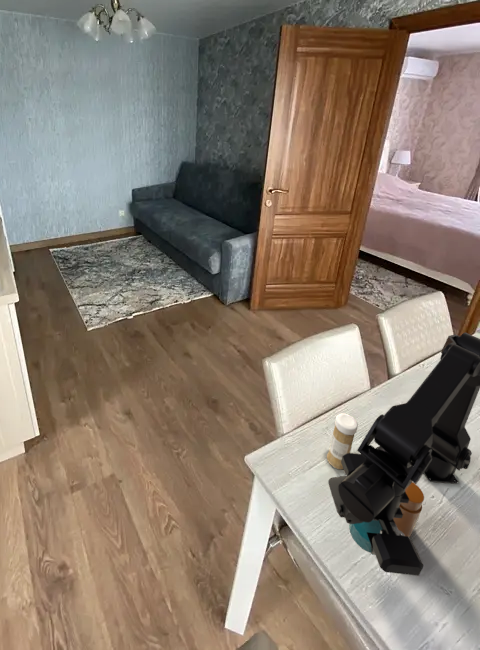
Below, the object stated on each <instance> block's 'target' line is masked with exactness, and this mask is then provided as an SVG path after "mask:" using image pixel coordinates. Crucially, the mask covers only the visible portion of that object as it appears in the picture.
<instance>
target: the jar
mask: <svg viewBox="0 0 480 650" xmlns="http://www.w3.org/2000/svg"><path fill="white" fill-rule="evenodd" d="M405 492H406V494H407V496H408V498H409V501H408V503H400V505H399V507H400V509H401V511H402V514H403V516H402V518H393V519H394V521H395V524H396V526H397V528H398V530H400V531H401V532H403V533H404V535H405V536H408V537H409V538H411V536H412V533H413V532H414V529H415V526H416V524H417V522H418V520H419V517H420V515H421V514H422V511H423V503H424V500H425V494H424V493H423V491H422V489H421V488H420V487H419V486H418V484H415V483H414V482H412V483H411V484H410V485H409V486H408V487H407V488H406V490H405Z"/></svg>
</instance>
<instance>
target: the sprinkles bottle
mask: <svg viewBox="0 0 480 650" xmlns="http://www.w3.org/2000/svg"><path fill="white" fill-rule="evenodd" d="M358 424H359V423H358V421H357V419H356V418H355V417H354V416H352V415H351V414H348V413H344V412H342V413H338V414H337V415H336V417H335V421H334V428H333V431H332V435H331V438H330V439H331V440H330V442H329V449H328V452H327V454H326V460H327V462H328V463H329V464H330V466H332V467H333V468H335V469H337V470H344V469H343V466H342V464H341V460H342V456H343V455H344V454H346V453H351V450H352V446H353V442H354V438H355V435H356V433H357V431H358V426H359V425H358Z"/></svg>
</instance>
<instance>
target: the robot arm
mask: <svg viewBox="0 0 480 650" xmlns="http://www.w3.org/2000/svg"><path fill="white" fill-rule="evenodd" d="M440 353H441V355H440V358H439V361H438V362H437V364H435V366H434V367H433V369H432V370H431V371H430V372H429V374H428V375H427V376H426V378H425V379H424V380H423V382H422V383H421V384H420V385H419V387H418V388H417V389H416V390H415V392H414V393H413V395H412V396H411V397H410V398H409V400H407V401H406V402H405V403H401V404H395V405H392V406H391V407H390V408H389V409H388V410H387V411H386V412H385V414H382V413H381V414H379V415H378V416H377V418H376V419H375V420H374V421H373V423H372V425H371V427H370V428H369V430H368V432H367V433H366V435H365V437H363V440H362V441H361V443H360V444H359V446H358V448H357V450H356V451H357V453H356V452H350V453H346V454H344V455H343V456H342V460H341V464H342V466H343V469H342V470H343V471H344V475H342V476H335V477H333V476H332V477H330V478H329V479H328V482H327V483H328V486H329V490H330V493H331V496H332V500H333V503H334V507H335V509H336V512H337V514H338V517H339V518H344V520H345V522H346V523H347V524H348V525H350V524H356V523H363V522H371V521H372V520H375V521H378V520H379V523H380V525H381V527H382V530H380V533H368V532H367V535H368V538H369V541H370V543H371V553H370V554H371V555H372V556H373V555H374V556H375V558H376V560H377V563H378V566H379V568H380V569H381V570H382V571H383V572H385V573H389V574H399V575H407V576H408V575H409V576H420V574H421V573H422V571H423V568H424V567H425V566H424V563H423V560H422V557H421V556H420V554H419V551H418V549H417V548H416V546H415V544H414V540H413V539H412V538H411V537H408V536H405V535H404V533H403V532H401V531H400V530H398V528H397V526H396V524H395V521H394V519H393V518H402V516H403V514H402V511H401V509H400V507H399V505H400V503H408V501H409V498H408V496H407V494H406V492H405V490H406V488H407V487H408V486H409V485H410V484H411V483H412V482H413V483H415V484H416V485H418V482H419V481H420V480H421V478H422V476H423V475H424V476H425V478H426V480H428V481H429V482H433V483H443V484H444V483H445V484H458V482H459V480H458V479H457V477H456V476H455V475H454V474H455V473H456V470H457V471H461V470H462V469H463V470H468V468H469V467H470V464H471V462H472V461H471V460H472V457H471V456H472V454H473V452H472V450H471V449H470V448H469V445H470V443H471V436H470V433H468V431H467V429H466V424H467V422H468V419H469V418H470V415H471V412H472V409H473V408H474V405H475V402H476V399H477V396H478V394H479V392H480V338H479V337H478V336H474V335H473V334H470V333H467V332H463V333H462V334H461V335H458V334H456V333H454V334H450V335H448V336H447V339H446V340H445V343H444V345H443V346H442V349H441V350H440ZM373 441H374V443H375V444H376V445H378V446H377V447H374V445H371V443H372V442H373Z"/></svg>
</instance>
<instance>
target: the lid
mask: <svg viewBox="0 0 480 650" xmlns="http://www.w3.org/2000/svg"><path fill="white" fill-rule="evenodd" d="M348 525H349V528H348V529H349V534H350V535H351V537H352V539H353V541H354V542H355V544H357V546H358V547H359V548H361V549H362V550H364V551H366V552H367V553H370V554H371V543H370V541H369V538H368V535H367V532H368V533H380V530H382V527H381V525H380V523H379V520H378V521H375V520H372V521H371V522H363V523H356V524H348Z"/></svg>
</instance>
